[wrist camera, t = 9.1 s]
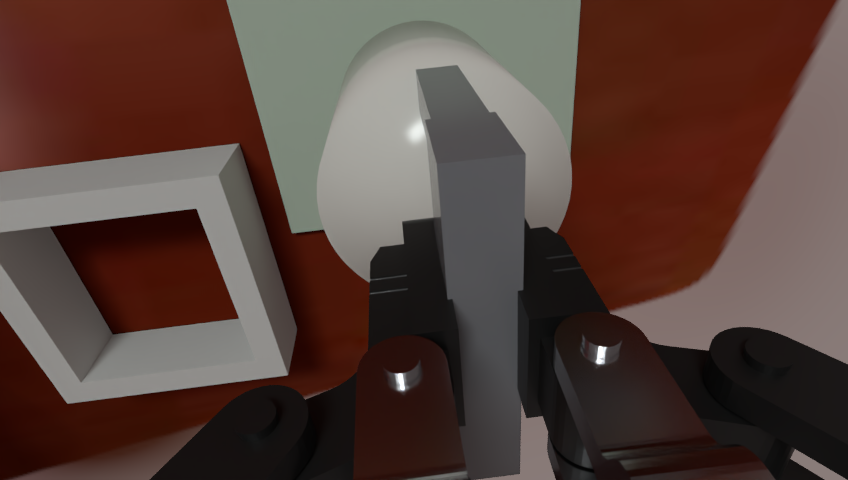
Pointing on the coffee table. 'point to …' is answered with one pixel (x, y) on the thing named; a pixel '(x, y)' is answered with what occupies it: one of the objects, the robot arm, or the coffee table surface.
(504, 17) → the mat
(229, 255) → the frame
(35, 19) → the coffee table surface
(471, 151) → the egg with flat handle
